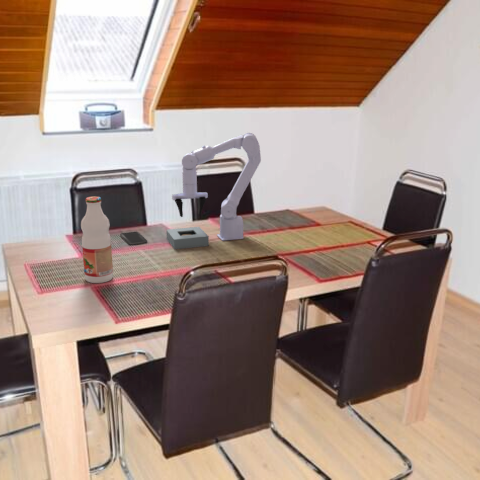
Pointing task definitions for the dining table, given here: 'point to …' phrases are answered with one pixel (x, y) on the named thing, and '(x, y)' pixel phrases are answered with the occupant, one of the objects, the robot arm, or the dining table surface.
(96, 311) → the dining table surface
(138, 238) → the phone
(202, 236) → the box
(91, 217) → the fruit juice
